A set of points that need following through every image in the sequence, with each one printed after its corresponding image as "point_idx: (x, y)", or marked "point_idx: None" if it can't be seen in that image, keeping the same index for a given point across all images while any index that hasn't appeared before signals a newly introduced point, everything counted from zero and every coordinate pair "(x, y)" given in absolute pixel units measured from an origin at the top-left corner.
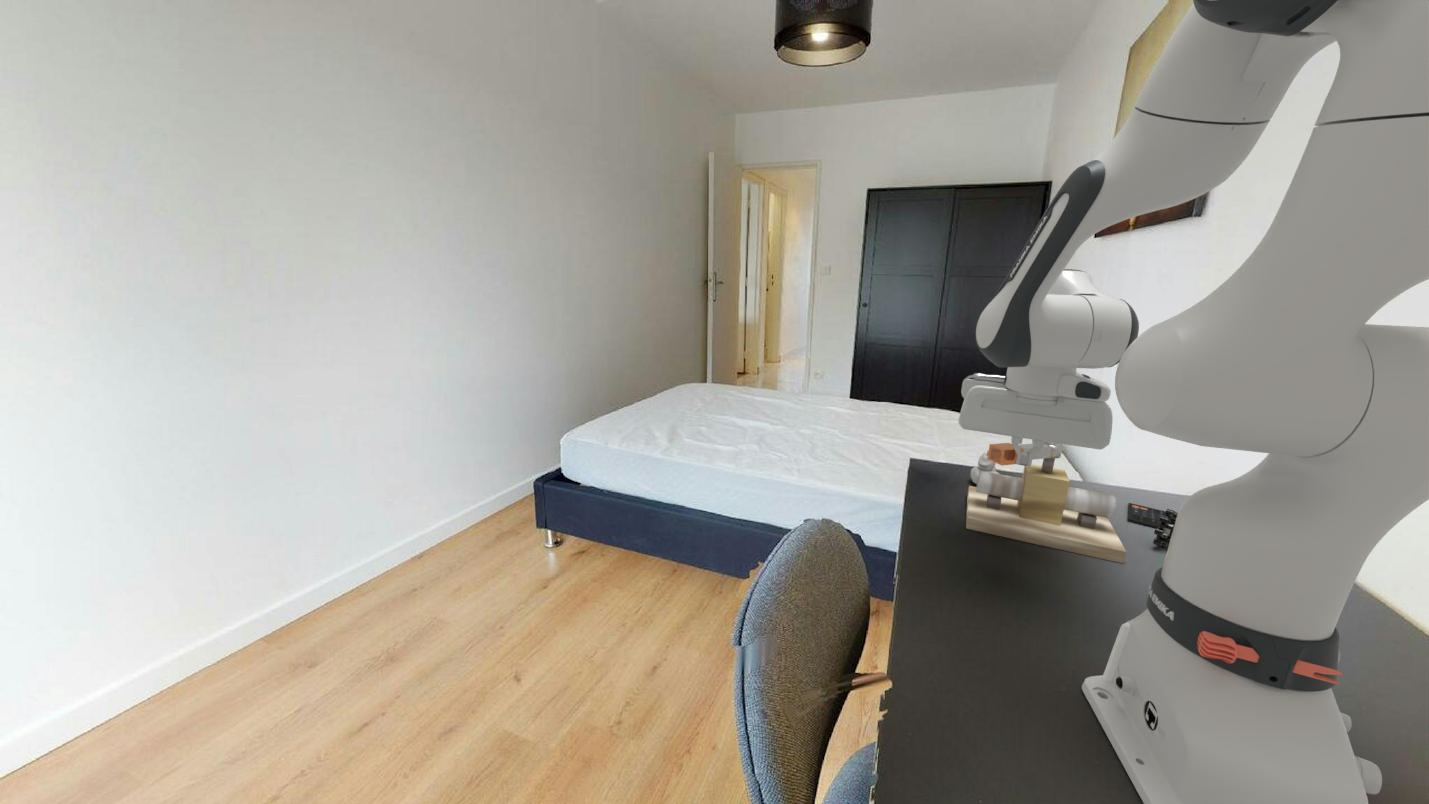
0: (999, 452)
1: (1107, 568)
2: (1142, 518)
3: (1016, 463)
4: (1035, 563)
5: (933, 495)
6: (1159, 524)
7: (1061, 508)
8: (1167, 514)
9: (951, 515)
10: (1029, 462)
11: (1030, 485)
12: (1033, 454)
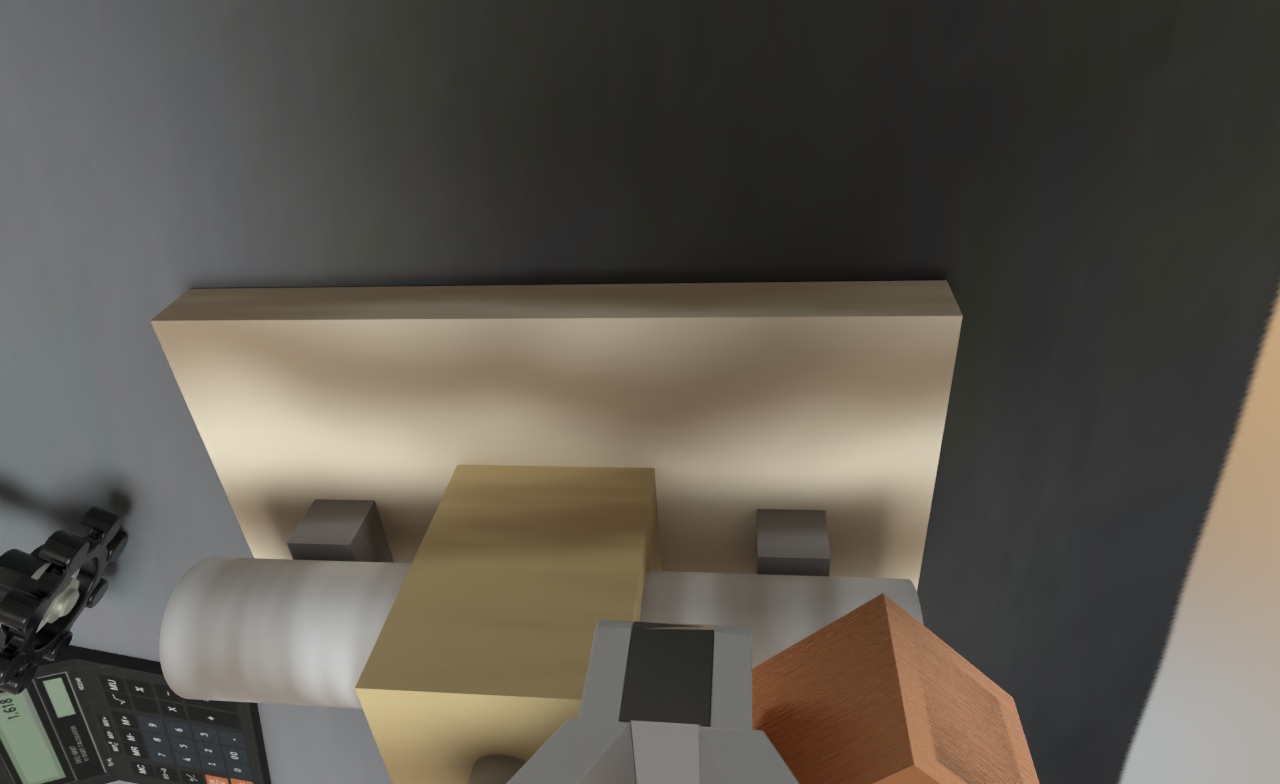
0: (951, 746)
1: (237, 192)
2: (205, 711)
3: (744, 627)
4: (562, 18)
5: (1080, 603)
6: (148, 688)
7: (436, 534)
8: (7, 651)
9: (1012, 411)
10: (613, 650)
11: None
12: (570, 744)
